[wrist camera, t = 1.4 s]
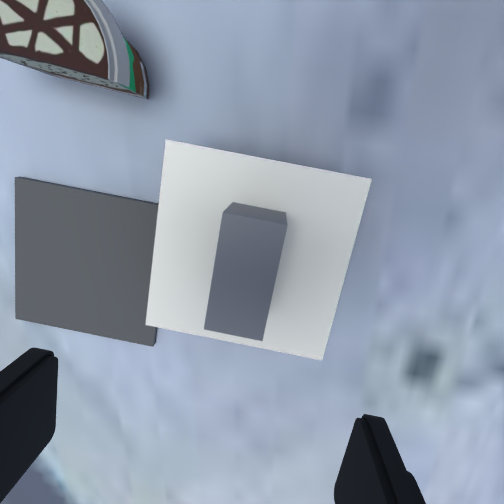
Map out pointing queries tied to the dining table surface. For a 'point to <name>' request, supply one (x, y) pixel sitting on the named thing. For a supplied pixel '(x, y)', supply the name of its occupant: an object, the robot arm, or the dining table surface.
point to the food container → (71, 43)
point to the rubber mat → (83, 260)
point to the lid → (251, 248)
